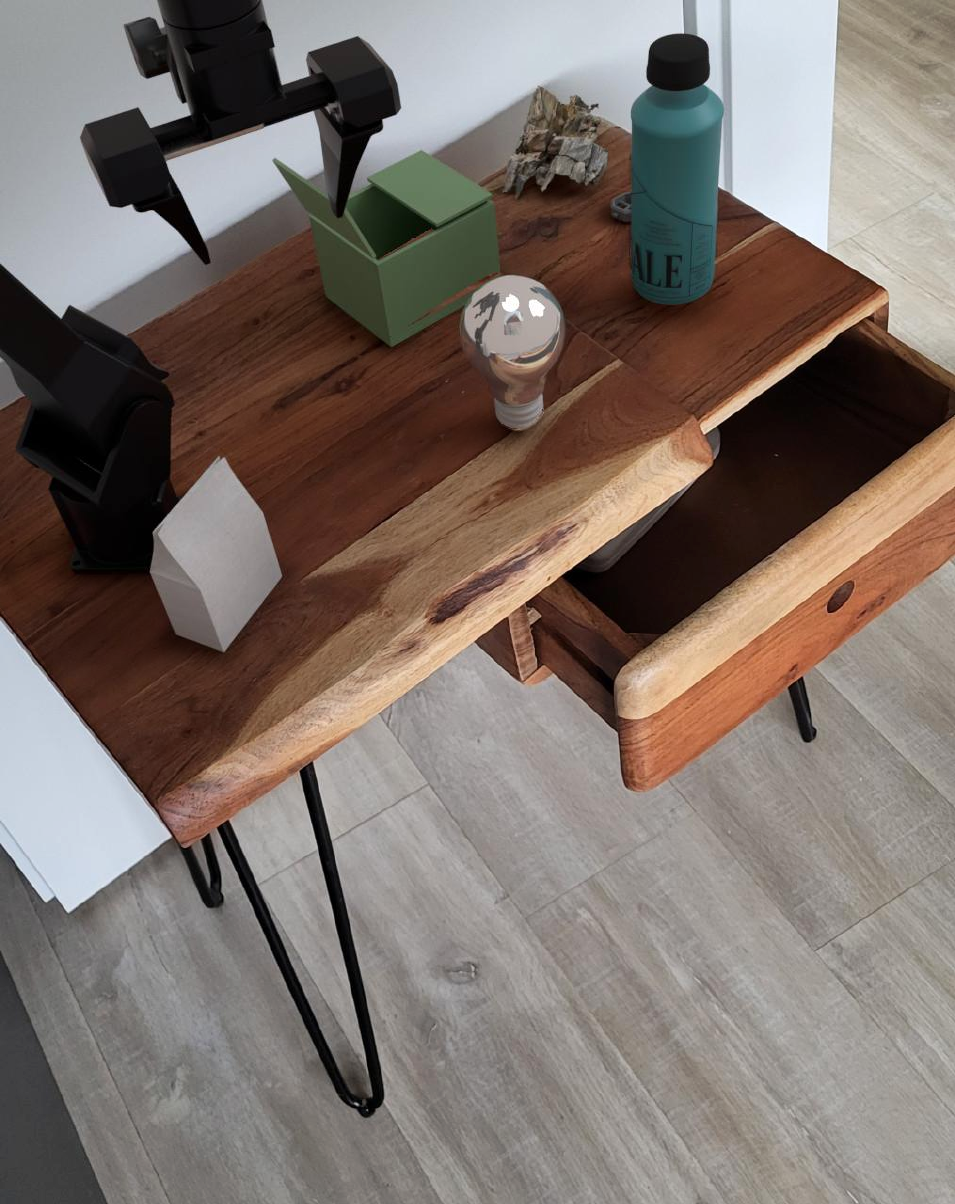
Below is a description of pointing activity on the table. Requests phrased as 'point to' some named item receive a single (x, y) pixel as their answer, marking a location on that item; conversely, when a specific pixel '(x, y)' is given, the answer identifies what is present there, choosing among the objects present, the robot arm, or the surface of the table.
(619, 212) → the key
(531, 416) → the light bulb
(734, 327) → the table surface
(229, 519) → the white milk carton
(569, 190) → the table surface
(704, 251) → the beverage bottle
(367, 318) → the carton
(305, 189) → the flap
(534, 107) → the rock
